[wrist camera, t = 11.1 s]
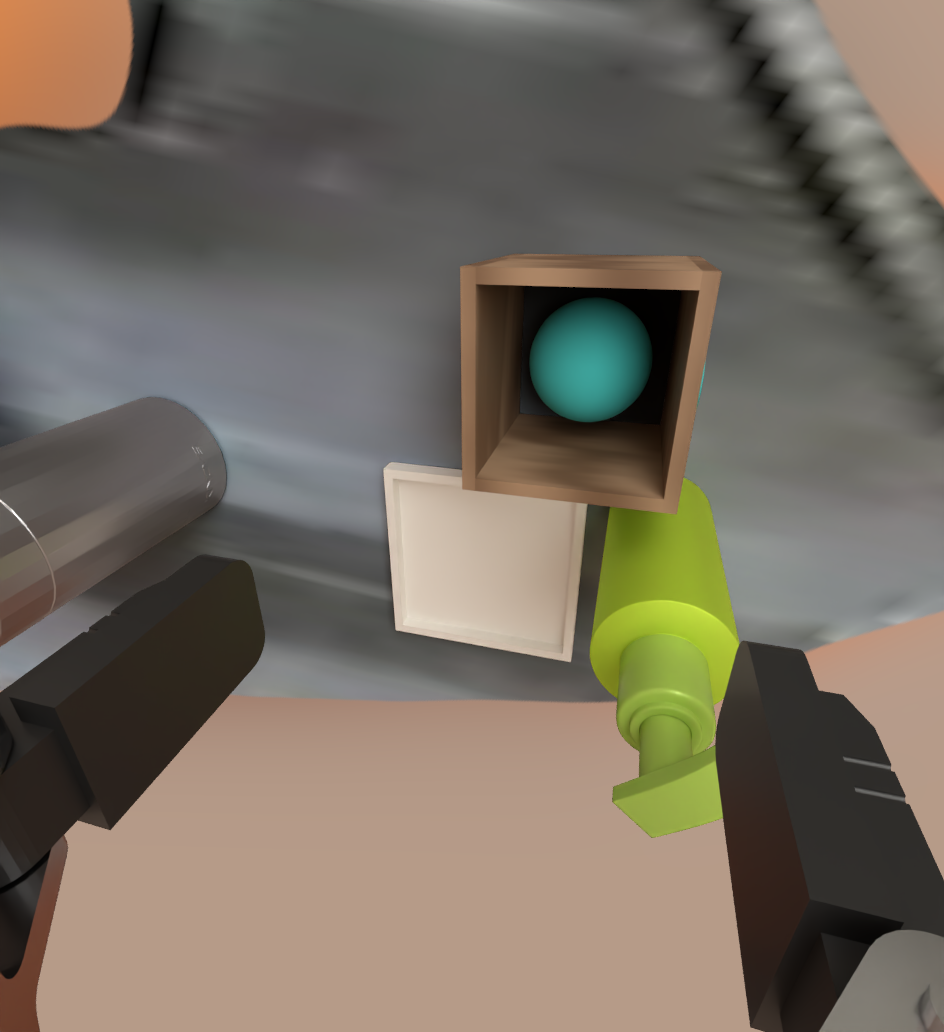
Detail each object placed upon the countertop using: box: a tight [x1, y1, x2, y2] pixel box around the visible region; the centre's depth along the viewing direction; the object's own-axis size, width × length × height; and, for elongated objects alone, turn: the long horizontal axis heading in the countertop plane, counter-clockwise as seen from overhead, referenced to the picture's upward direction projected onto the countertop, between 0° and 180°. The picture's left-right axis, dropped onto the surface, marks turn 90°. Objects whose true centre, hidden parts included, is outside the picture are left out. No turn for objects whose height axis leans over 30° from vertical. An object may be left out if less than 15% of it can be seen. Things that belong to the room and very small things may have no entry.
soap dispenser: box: [590, 478, 740, 838], centre depth 26 cm, size 6×7×20 cm
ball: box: [530, 297, 653, 422], centre depth 29 cm, size 6×6×6 cm
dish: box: [383, 462, 588, 662], centre depth 39 cm, size 13×13×1 cm
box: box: [460, 254, 722, 514], centre depth 27 cm, size 10×9×10 cm
